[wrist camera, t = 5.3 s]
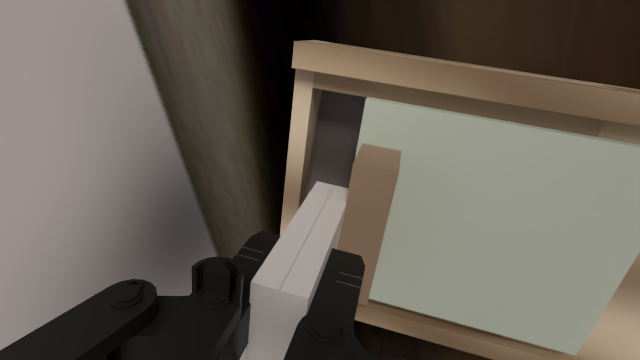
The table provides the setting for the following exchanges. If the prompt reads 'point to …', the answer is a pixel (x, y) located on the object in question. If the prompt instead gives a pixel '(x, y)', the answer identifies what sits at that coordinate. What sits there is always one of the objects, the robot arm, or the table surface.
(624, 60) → the table surface
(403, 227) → the lid
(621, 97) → the wooden box
